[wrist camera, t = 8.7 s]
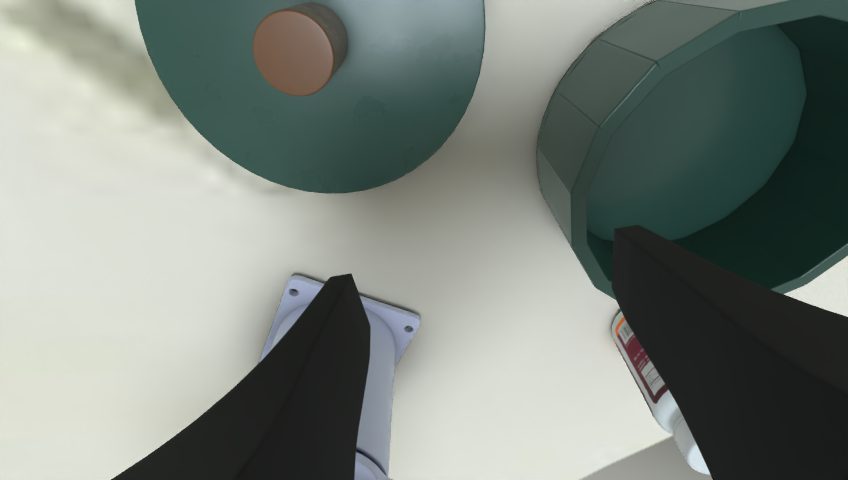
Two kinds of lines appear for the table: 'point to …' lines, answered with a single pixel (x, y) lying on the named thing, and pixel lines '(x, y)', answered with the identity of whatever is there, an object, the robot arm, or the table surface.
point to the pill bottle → (656, 393)
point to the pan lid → (319, 81)
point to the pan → (707, 137)
